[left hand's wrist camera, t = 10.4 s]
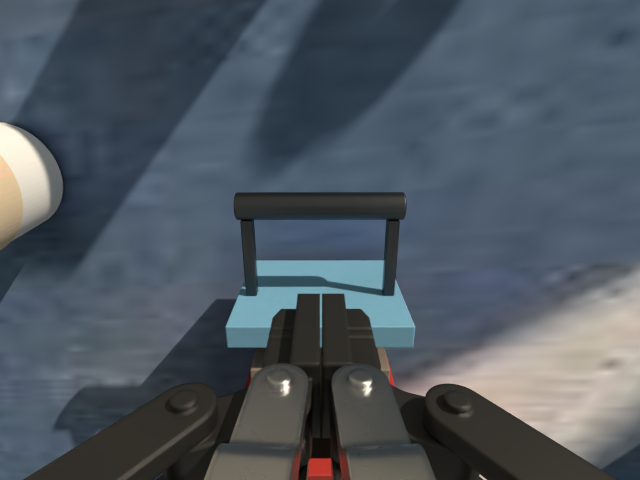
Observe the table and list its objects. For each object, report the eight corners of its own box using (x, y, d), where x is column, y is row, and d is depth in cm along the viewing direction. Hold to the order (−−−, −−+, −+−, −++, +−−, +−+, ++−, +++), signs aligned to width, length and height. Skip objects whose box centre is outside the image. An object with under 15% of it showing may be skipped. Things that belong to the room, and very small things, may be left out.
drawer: (246, 175, 24) (213, 210, 16) (393, 174, 24) (426, 210, 16) (265, 458, 32) (249, 569, 25) (374, 458, 32) (391, 568, 25)
